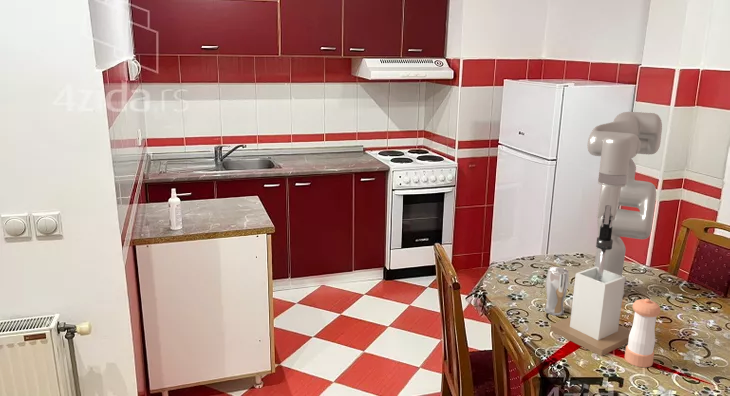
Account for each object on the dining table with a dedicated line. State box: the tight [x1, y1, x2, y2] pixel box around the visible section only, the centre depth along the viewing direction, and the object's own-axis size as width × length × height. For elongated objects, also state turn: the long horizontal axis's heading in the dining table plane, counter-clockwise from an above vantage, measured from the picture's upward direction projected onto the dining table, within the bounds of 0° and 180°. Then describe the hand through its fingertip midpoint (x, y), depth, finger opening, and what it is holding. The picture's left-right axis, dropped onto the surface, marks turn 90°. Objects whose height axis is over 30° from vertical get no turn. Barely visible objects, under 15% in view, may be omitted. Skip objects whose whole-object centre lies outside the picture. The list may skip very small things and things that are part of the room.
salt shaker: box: [624, 298, 662, 368], centre depth 156 cm, size 7×7×19 cm
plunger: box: [595, 236, 613, 282], centre depth 167 cm, size 8×8×20 cm
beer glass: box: [544, 266, 570, 316], centre depth 186 cm, size 7×7×15 cm
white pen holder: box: [549, 266, 631, 357], centre depth 170 cm, size 18×18×20 cm
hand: (604, 239), depth 164 cm, fingers closed
